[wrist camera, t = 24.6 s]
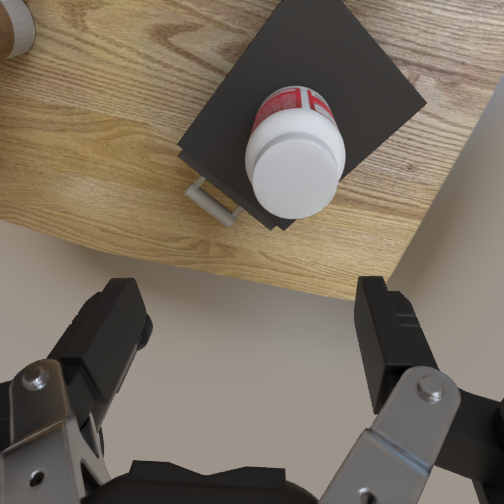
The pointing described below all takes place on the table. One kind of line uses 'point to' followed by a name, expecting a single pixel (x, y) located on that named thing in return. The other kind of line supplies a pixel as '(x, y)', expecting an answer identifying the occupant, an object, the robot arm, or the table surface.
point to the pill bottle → (294, 153)
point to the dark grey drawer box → (310, 76)
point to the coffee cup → (15, 29)
